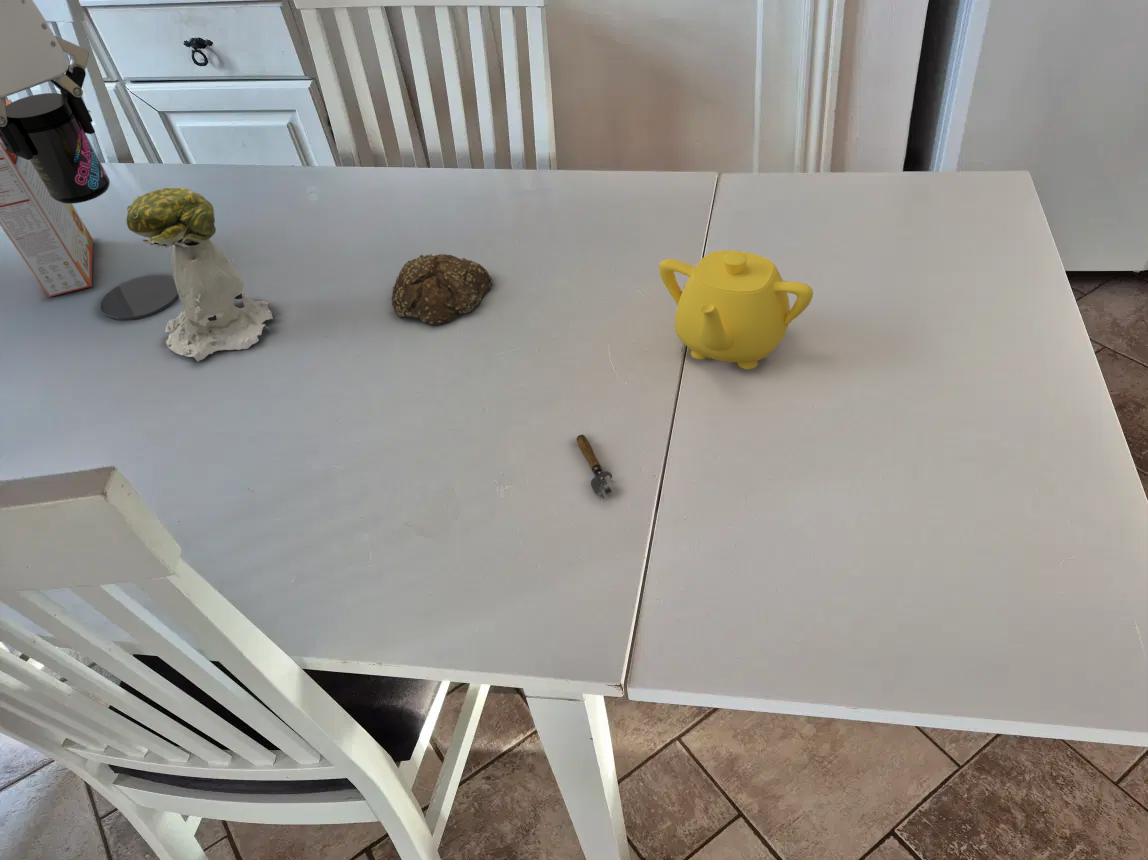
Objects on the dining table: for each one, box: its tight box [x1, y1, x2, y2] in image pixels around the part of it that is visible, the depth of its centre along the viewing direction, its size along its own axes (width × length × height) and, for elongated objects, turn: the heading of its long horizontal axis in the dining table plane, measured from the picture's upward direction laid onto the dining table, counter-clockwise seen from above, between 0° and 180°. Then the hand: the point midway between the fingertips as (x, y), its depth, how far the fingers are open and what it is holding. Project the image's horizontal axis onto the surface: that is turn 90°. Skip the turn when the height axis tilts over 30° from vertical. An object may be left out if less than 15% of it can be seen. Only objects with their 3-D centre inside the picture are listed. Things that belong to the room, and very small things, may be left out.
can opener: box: [576, 434, 613, 499], centre depth 86 cm, size 9×2×1 cm, turn 16°
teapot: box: [658, 249, 814, 370], centre depth 96 cm, size 14×14×12 cm
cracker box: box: [0, 98, 94, 298], centre depth 111 cm, size 14×6×21 cm, turn 23°
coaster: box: [100, 274, 179, 321], centre depth 113 cm, size 10×10×1 cm
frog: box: [126, 187, 274, 363], centre depth 100 cm, size 12×13×18 cm
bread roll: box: [391, 253, 492, 326], centre depth 108 cm, size 13×12×5 cm
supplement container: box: [6, 92, 111, 204], centre depth 98 cm, size 7×7×10 cm
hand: (55, 142), depth 97 cm, fingers closed on supplement container, 6 cm apart
